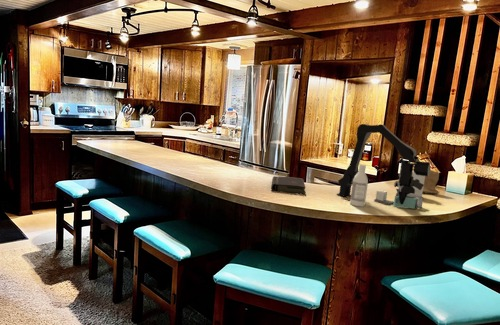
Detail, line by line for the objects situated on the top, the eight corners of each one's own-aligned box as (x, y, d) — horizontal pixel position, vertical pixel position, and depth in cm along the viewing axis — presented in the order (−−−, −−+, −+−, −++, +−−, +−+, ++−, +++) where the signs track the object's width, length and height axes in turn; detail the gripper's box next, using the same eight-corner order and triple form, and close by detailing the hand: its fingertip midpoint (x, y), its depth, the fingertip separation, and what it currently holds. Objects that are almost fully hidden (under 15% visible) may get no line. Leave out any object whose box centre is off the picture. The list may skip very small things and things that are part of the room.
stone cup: (433, 192, 249) (436, 169, 247) (441, 195, 237) (445, 172, 235) (409, 189, 249) (413, 167, 247) (417, 193, 237) (420, 169, 235)
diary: (270, 192, 199) (271, 182, 199) (271, 183, 224) (272, 175, 223) (306, 195, 198) (307, 186, 197) (303, 186, 223) (304, 178, 222)
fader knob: (382, 200, 197) (384, 192, 196) (375, 199, 199) (376, 190, 199) (386, 200, 200) (387, 191, 199) (378, 198, 202) (380, 189, 202)
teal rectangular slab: (413, 208, 190) (415, 198, 190) (415, 209, 188) (416, 199, 187) (393, 205, 191) (394, 195, 191) (394, 206, 189) (395, 196, 189)
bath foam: (353, 202, 190) (359, 163, 188) (366, 205, 186) (372, 165, 183) (347, 204, 185) (352, 163, 182) (360, 207, 181) (366, 166, 178)
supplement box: (420, 196, 228) (424, 171, 226) (421, 199, 219) (425, 173, 217) (404, 193, 231) (407, 169, 229) (405, 196, 222) (409, 171, 220)
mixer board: (388, 204, 194) (389, 202, 193) (374, 201, 199) (374, 199, 199) (393, 203, 198) (394, 201, 198) (379, 200, 203) (379, 198, 203)
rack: (417, 209, 189) (418, 198, 188) (393, 203, 197) (395, 193, 196) (423, 207, 195) (425, 196, 194) (400, 202, 203) (401, 191, 202)
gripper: (428, 177, 175) (423, 210, 177) (418, 173, 194) (414, 202, 195) (403, 174, 177) (398, 207, 179) (395, 170, 196) (391, 199, 197)
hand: (401, 204), depth 188 cm, fingers closed
